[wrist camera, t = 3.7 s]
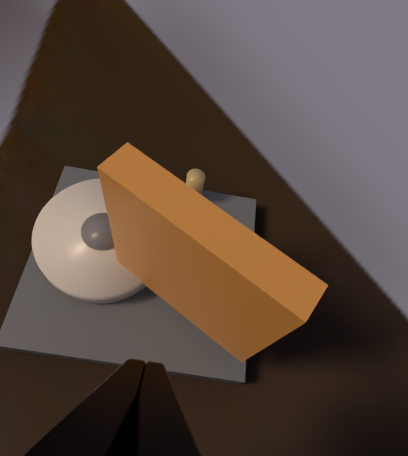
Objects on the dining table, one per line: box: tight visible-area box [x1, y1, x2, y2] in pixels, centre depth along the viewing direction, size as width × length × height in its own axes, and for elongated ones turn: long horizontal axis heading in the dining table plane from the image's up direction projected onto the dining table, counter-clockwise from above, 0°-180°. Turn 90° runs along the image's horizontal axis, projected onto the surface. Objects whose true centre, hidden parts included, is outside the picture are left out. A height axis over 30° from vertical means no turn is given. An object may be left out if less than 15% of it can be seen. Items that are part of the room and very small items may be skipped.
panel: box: [0, 166, 256, 384], centre depth 22 cm, size 12×14×4 cm
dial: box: [32, 142, 328, 363], centre depth 18 cm, size 15×8×10 cm, turn 53°
